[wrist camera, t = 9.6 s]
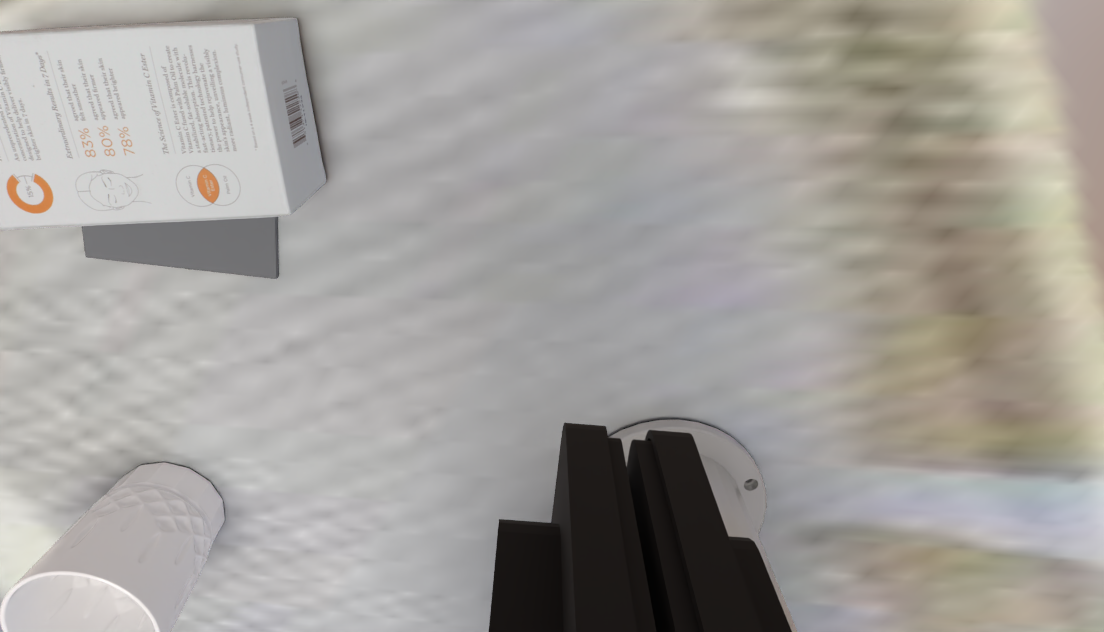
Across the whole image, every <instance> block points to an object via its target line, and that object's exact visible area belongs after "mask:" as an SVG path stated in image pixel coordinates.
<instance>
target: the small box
mask: <svg viewBox="0 0 1104 632" xmlns="http://www.w3.org/2000/svg"><path fill="white" fill-rule="evenodd" d="M325 183H326V175H325V170H324V167H323V163H322V158H321V152H320V147H319V141H318V136H317V130H316V125H315V120H314V114H313V109H312V104H311V99H310V93H309V88H308V83H307V78H306V72H305V66H304V61H303V54H302V48H301V42H300V34H299V27H298V21H297V19H296V18H265V19H238V20H212V21H187V22H166V23H145V24H124V25H105V26H87V27H68V28H50V29H34V30H18V31H2V32H0V230H1V231H5V230H18V229H34V228H52V227H74V226H95V225H116V224H137V223H161V222H184V221H206V220H225V219H247V218H267V217H281V216H288V215H291V214H292V213H293V212H295V211H296V210H297V209H298V208H299V207H300V206H301V205H302V204H303V203H305V202H306V201H307V200H308V199H309V198H310V197H311V196H312V195H313V194H314V193H315V192H316V191H317V190H318V189H319V188H321V187H322V186H323V185H324V184H325Z"/></svg>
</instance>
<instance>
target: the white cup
mask: <svg viewBox="0 0 1104 632" xmlns="http://www.w3.org/2000/svg"><path fill="white" fill-rule="evenodd" d="M224 521H225V516H224V507H223V500H222V498H221V497H220V495H219V494H218V492H217V491H216V490H215V488H214V487H213V485H212V484H211V482H210V481H208V480H207V479H205V478H204V477H202V476H200V475H199V474H197V473H196V472H194V471H193V470H191V469H190V468H186V467H182V466H178V465H174V464H170V463H165V462H162V463H155V464H146V465H140V466H138V467H137V468H135V469H134V470H132V471H131V472H129V473H128V474H126V475H125V476H123V477H122V478H121V479H120V480H119V481H118V482H117V483H116V484H115V485H114V486H113V487H112V488H111V489H110V490H109V491H108V492H107V494H106V495H104V496H103V497H102V498H100V499H99V500H98V501H97V502H96V503H95V504H94V505H93V506H92V507H91V508H90V509H88V511H87V512H86V513H85V514H84V515H83V516H82V517H80V518H79V519H78V520H77V521H76V522H75V523H74V524H73V525H72V526H71V527H70V528H69V529H68V530H67V531H66V532H65V533H64V534H63V535H62V536H61V537H60V538H59V539H58V540H57V542H56V543H55V544H54V545H53V546H52V547H51V548H50V549H49V550H48V551H47V552H46V553H45V554H44V555H43V556H42V557H41V558H40V559H39V560H38V561H37V562H36V563H35V564H34V565H33V566H32V567H31V568H30V569H29V570H28V571H27V572H26V574H25V575H24V576H23V577H22V578H21V579H20V580H19V581H18V582H17V583H16V584H15V585H14V586H13V587H12V588H11V589H10V590H9V591H8V592H7V594H6V595H5V597H4V599H3V601H2V603H1V607H0V624H1V628H2V631H3V632H171V631H172V629H173V627H174V625H175V623H176V621H177V619H178V617H179V615H180V613H181V611H182V609H183V607H184V605H185V603H186V601H187V599H188V597H189V595H190V593H191V592H192V590H193V588H194V586H195V584H196V582H197V580H198V578H199V576H200V574H201V571H202V569H203V567H204V565H205V563H206V561H207V559H208V554H209V551H210V549H211V547H212V544H213V542H214V540H215V538H216V536H217V534H218V532H219V530H220V528H221V526H222V525H223V523H224Z"/></svg>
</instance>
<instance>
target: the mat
mask: <svg viewBox="0 0 1104 632" xmlns="http://www.w3.org/2000/svg"><path fill="white" fill-rule="evenodd" d="M82 232H83V240H84V247H85V255H86V257H88V258H97V259H106V260H115V261H123V262H132V263H141V264H150V265H158V266H167V267H176V268H185V269H193V270H202V271H211V272H220V273H229V274H237V275H246V276H255V277H264V278H272V279H277V278H278V276H279V270H278V224H277V217H267V218H247V219H225V220H206V221H184V222H161V223H137V224H116V225H95V226H82Z"/></svg>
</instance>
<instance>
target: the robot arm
mask: <svg viewBox="0 0 1104 632" xmlns="http://www.w3.org/2000/svg"><path fill="white" fill-rule="evenodd" d="M766 507H767V503H766V489H765V486H764V482H763V479H762V476H761V474H760V472H759V469H758V467H757V465H756V463H755V461H754V460H753V458H752V457H751V456H750V454H749V453H748V452H747V450H746V449H745V448H744V447H743V446H742V445H741V444H739V443H738V442H737V441H736V440H735V439H734V438H733V437H731V436H729V435H727V434H726V433H724V432H722V431H720V430H718V429H717V428H714V427H711V426H708V425H705V424H702V423H699V422H692V421H686V420H657V421H651V422H646V423H640V424H637V425H635V426H632V427H629V428H626V429H623V430H621V431H619V432H617V433H615V434H614V435H612V436H610V437H608V436H607V430H606V427H605V426H597V425H584V424H572V423H564V426H563V431H562V438H561V446H560V455H559V463H558V472H557V480H556V488H555V497H554V505H553V513H552V522H551V523H542V522H529V521H515V520H501V519H499V527H498V538H497V549H496V560H495V571H494V582H493V593H492V604H491V615H490V626H489V632H797V629H796V627H795V624H794V622H793V619H792V617H791V615H790V612H789V610H788V607H787V605H786V602H785V600H784V597H783V595H782V593H781V590H780V588H779V585H778V583H777V580H776V578H775V576H774V573H773V571H772V568H771V566H770V563H769V561H768V558H767V556H766V554H765V551H764V549H763V546H762V544H761V541H760V539H759V537H758V534H759V531H760V529H761V527H762V524H763V522H764V517H765V512H766Z"/></svg>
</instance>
